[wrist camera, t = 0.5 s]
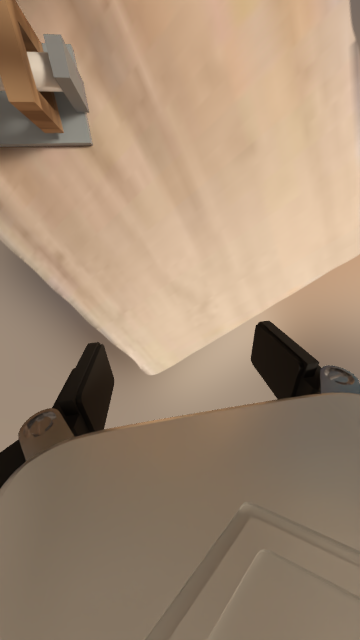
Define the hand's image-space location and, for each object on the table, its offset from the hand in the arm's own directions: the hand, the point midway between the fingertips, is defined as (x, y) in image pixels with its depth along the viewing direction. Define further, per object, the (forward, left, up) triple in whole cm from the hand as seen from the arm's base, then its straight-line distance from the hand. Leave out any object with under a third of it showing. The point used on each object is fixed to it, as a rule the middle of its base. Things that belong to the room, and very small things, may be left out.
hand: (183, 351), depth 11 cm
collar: (-22, -13, -26) cm, 37 cm away
